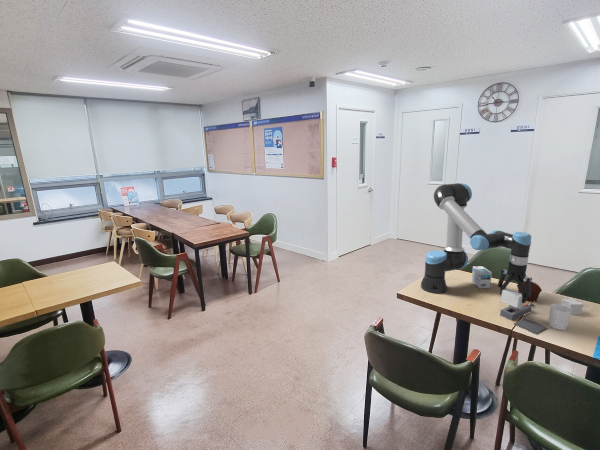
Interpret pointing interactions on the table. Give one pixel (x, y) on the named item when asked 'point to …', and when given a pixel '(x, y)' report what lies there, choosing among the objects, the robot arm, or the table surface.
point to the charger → (511, 297)
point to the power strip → (515, 311)
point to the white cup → (559, 316)
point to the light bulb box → (481, 277)
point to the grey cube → (573, 305)
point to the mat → (530, 326)
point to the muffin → (532, 291)
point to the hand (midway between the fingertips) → (511, 304)
